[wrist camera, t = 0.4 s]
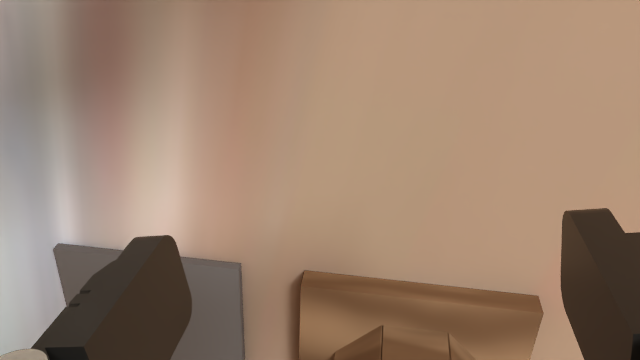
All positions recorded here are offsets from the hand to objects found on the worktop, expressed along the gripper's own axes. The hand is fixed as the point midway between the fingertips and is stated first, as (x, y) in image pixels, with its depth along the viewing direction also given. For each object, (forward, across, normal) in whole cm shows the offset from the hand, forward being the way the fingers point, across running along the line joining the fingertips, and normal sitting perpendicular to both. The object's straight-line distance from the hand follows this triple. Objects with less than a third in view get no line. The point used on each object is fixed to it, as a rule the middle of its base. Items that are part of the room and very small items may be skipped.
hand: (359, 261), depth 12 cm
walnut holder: (+20, +1, +21) cm, 29 cm away
